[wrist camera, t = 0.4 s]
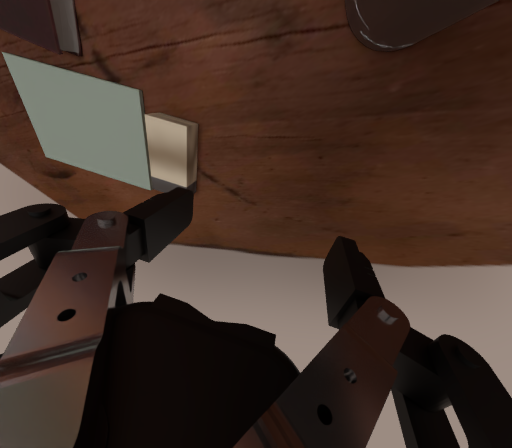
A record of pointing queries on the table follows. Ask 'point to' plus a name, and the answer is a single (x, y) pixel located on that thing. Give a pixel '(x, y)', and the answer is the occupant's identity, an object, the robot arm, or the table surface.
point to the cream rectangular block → (172, 152)
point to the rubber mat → (85, 120)
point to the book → (43, 23)
